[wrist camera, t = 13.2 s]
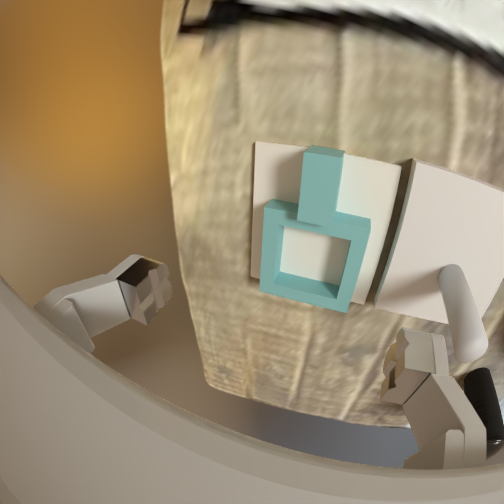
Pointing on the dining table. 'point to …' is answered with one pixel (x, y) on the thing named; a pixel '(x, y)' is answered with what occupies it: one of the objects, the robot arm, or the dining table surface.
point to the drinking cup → (486, 408)
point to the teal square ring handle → (319, 221)
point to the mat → (349, 201)
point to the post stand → (446, 254)
